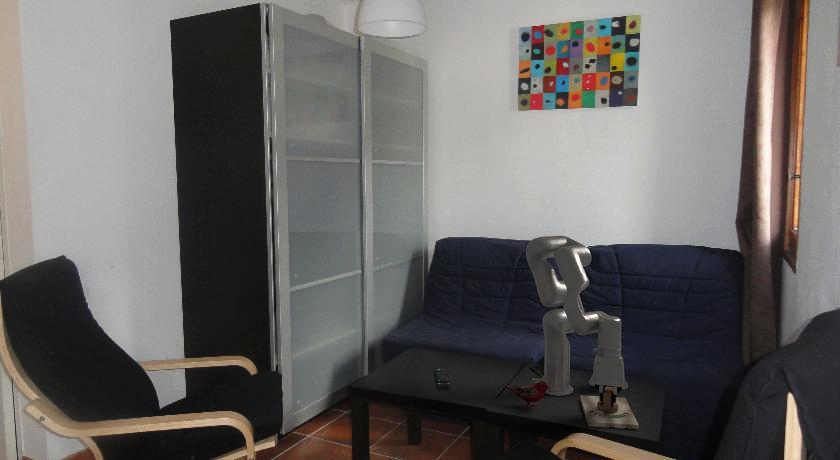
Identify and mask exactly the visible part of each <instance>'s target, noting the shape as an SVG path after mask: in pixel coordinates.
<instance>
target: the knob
mask: <svg viewBox="0 0 840 460" xmlns="http://www.w3.org/2000/svg"><path fill="white" fill-rule="evenodd" d="M603 390H604V393H603V404H602V401H599V402H597V408H598V409H599V410H601V411H604V414H607V412H616V411H618V404H617V403H614V406H612V392H613V387H605V389H603Z"/></svg>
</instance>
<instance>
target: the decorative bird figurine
mask: <svg viewBox="0 0 840 460" xmlns="http://www.w3.org/2000/svg"><path fill="white" fill-rule="evenodd" d="M502 386H503V387H505V388H507V389H508V390H510V391H512V392H513V393H514V395H515V394H516V396H517V397H519V398H520V399H521V400H523V401H524V402H526V403H525V405H526V406H530V407H534V408H535V407H539V406H538V405H535V404H532V403H537V402H538V401H540V400H542V399H543V398H544V396H545V394H546V393H545V392H546V391H547V389H550V388H549V387H548V386H547V383H546V382H544V381H541V382H538V383H534V384H532V385H524V386H519V387H513V386H508V385H506V384H502Z"/></svg>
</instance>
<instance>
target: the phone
mask: <svg viewBox="0 0 840 460" xmlns="http://www.w3.org/2000/svg"><path fill="white" fill-rule="evenodd" d="M530 370H532V371H533V372H534V371H535V372H534V373H535V374H537V375H538V376H540V378H543V376H544V364H543V365H542V364H541V365H531V366H530Z"/></svg>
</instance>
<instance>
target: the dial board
mask: <svg viewBox="0 0 840 460" xmlns="http://www.w3.org/2000/svg"><path fill="white" fill-rule="evenodd" d="M579 396H580V397H579V401H580V403H581V407H582V410H583V415H584V417H585V420H586V424H587V427H593V428H594V427H595V428H598V427H599V428H609V427H615V428H614V429H625V428H628V430H639V428H640V427H639V423H638V420H637V419H636V417H635V415H634V413H633V411H632V409H631V406H630V405H629V403H628V401H627V398H626V397H617V396H616V403H617V404H618V411H616V412H607V414H604V411H601V410H599V409H598V408H597V402H599V401H600V395H583V394H582V395H581V394H580V395H579Z"/></svg>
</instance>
